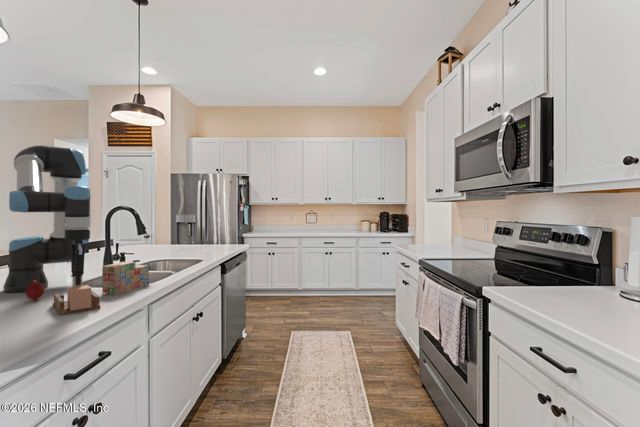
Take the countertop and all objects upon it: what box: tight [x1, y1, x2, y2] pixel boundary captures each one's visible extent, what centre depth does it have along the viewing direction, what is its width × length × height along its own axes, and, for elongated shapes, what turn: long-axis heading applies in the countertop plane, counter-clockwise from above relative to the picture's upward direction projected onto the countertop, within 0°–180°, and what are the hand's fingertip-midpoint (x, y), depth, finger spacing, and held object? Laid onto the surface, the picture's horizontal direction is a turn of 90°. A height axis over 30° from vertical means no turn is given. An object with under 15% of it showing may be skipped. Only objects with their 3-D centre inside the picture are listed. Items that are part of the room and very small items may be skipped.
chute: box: [52, 289, 101, 317], centre depth 123 cm, size 16×12×4 cm
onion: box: [24, 280, 46, 301], centre depth 131 cm, size 6×6×8 cm
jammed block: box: [67, 284, 92, 311], centre depth 118 cm, size 6×6×7 cm
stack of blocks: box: [101, 261, 150, 295], centre depth 152 cm, size 21×6×12 cm, turn 170°
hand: (77, 293), depth 121 cm, fingers closed
